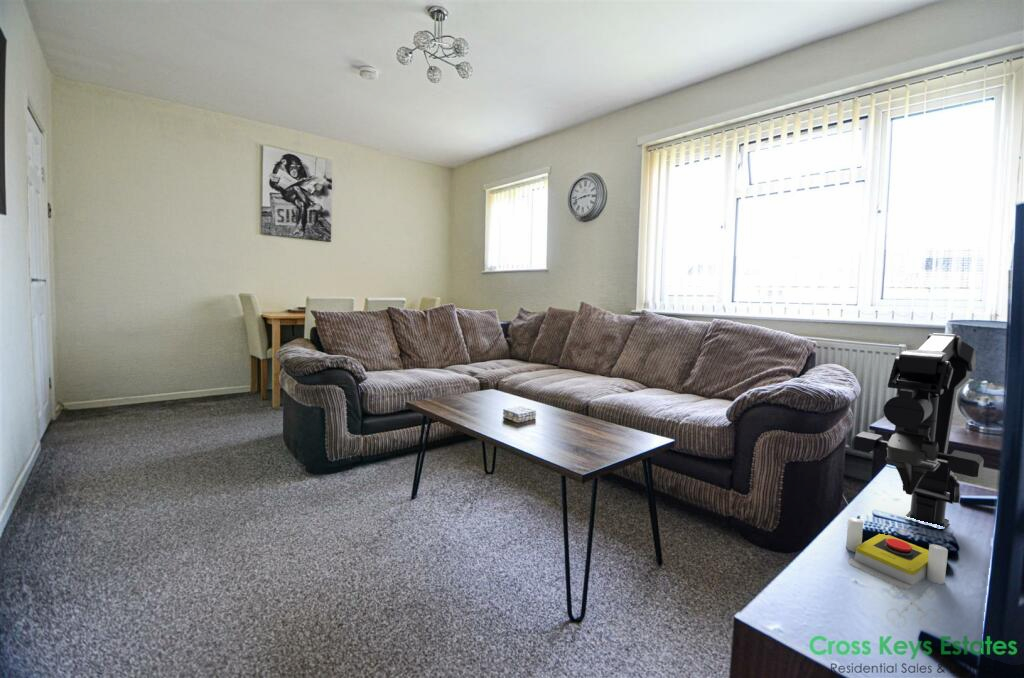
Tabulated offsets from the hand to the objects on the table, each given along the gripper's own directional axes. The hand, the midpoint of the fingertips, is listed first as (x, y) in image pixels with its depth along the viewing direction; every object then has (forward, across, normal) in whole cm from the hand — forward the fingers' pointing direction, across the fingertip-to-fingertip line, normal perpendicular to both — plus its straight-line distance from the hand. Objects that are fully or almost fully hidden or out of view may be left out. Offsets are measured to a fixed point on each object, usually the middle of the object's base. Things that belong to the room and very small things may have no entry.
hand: (909, 494), depth 90 cm
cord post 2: (+11, +6, -8) cm, 15 cm away
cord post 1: (+11, -6, -8) cm, 15 cm away
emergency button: (+12, 0, -8) cm, 15 cm away
